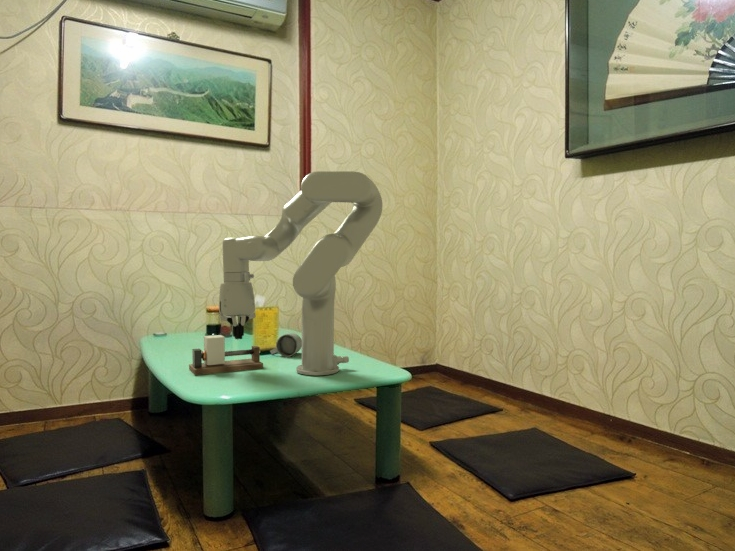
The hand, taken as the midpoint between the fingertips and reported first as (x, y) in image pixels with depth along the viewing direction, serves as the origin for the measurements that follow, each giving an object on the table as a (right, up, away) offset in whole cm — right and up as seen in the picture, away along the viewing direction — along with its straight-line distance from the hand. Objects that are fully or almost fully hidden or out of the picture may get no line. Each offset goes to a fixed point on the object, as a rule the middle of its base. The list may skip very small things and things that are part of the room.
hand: (238, 338), depth 154 cm
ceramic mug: (+11, -9, +22) cm, 26 cm away
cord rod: (-4, -8, -1) cm, 9 cm away
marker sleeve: (-6, -7, -3) cm, 10 cm away
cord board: (-3, -9, -1) cm, 10 cm away
